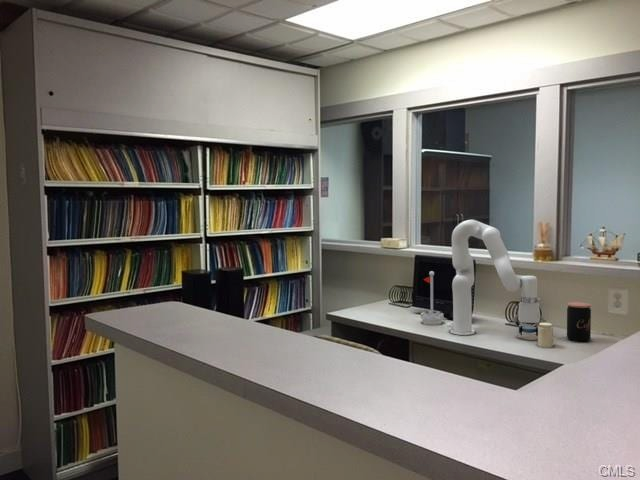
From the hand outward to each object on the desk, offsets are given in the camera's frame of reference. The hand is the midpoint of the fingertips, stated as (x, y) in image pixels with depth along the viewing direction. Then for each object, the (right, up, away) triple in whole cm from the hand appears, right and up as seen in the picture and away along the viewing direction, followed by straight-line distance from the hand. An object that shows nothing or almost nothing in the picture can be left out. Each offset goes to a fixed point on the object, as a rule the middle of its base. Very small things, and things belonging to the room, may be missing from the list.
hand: (529, 334), depth 272 cm
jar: (+2, -3, -15) cm, 15 cm away
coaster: (0, -2, 0) cm, 2 cm away
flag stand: (-41, 0, +38) cm, 56 cm away
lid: (0, +3, 0) cm, 3 cm away
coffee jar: (+23, -2, -5) cm, 23 cm away
